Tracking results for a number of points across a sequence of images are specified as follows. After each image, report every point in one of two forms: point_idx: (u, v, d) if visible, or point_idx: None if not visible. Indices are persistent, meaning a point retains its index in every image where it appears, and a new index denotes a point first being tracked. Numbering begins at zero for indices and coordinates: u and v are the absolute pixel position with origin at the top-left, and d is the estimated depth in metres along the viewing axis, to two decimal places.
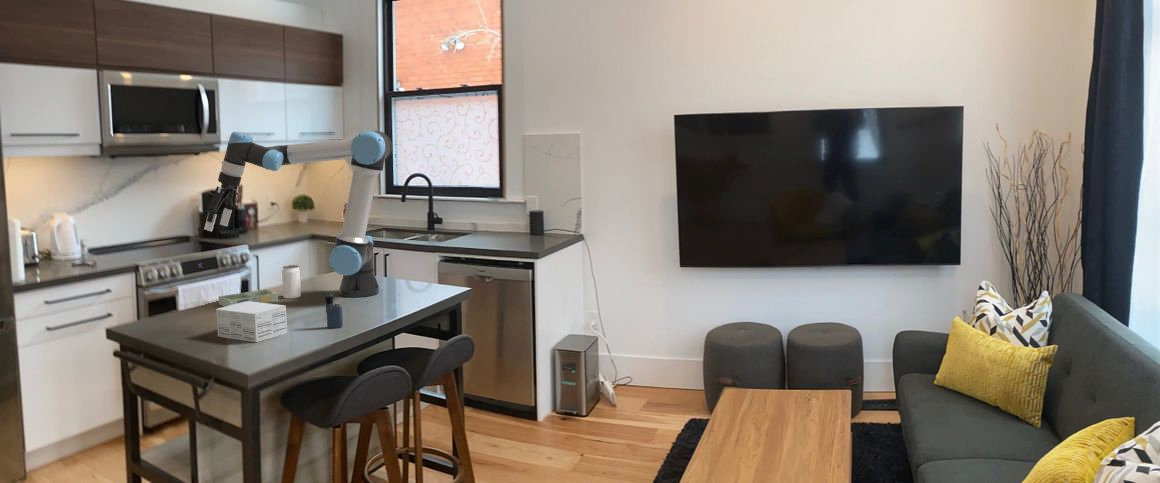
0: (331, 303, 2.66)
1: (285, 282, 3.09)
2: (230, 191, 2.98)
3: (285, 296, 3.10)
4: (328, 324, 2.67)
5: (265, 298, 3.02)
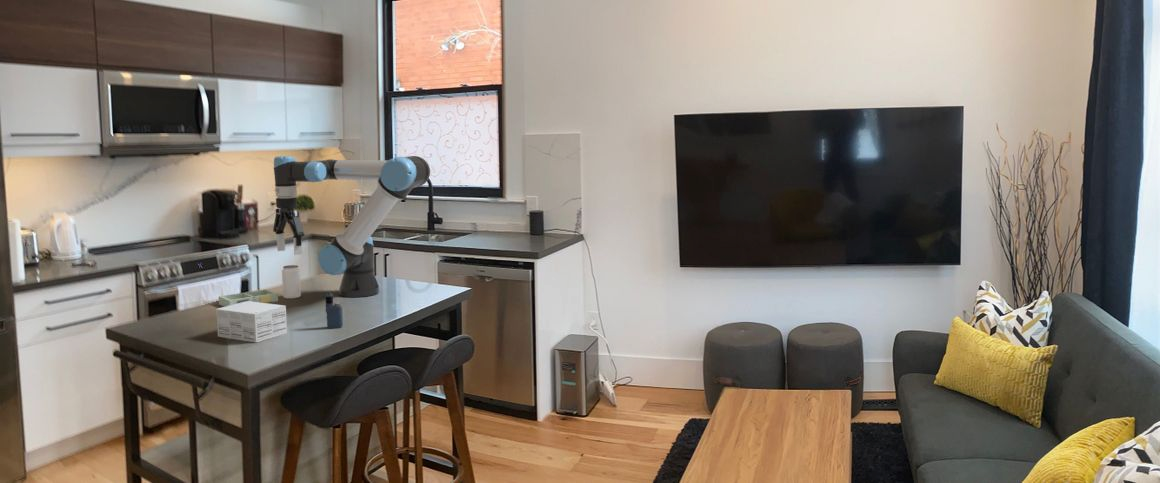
0: (331, 303, 2.66)
1: (285, 282, 3.09)
2: None
3: (285, 296, 3.10)
4: (328, 324, 2.67)
5: (265, 298, 3.02)
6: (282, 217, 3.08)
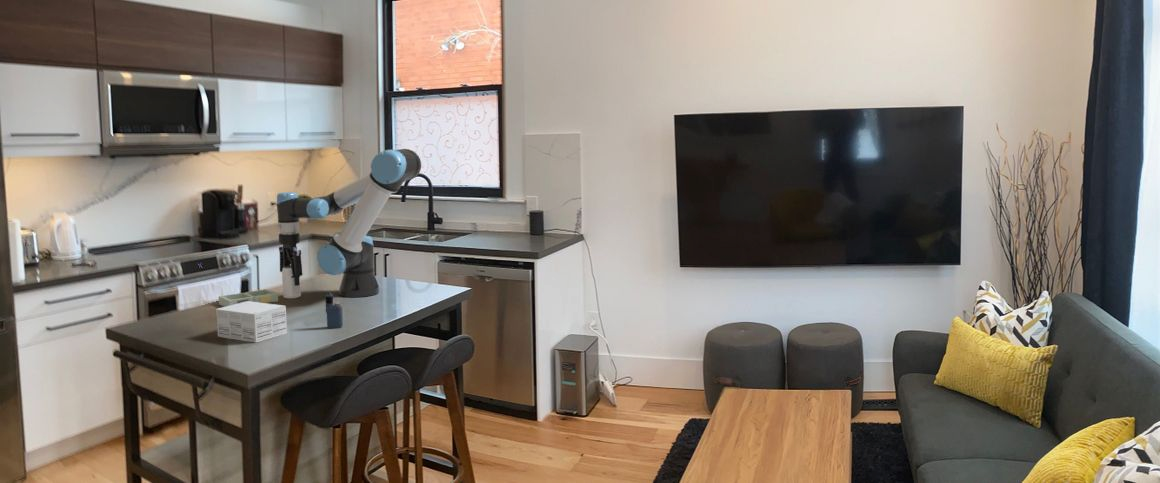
0: (331, 303, 2.66)
1: (285, 282, 3.09)
2: None
3: (285, 296, 3.10)
4: (328, 324, 2.67)
5: (265, 298, 3.02)
6: (285, 253, 3.10)
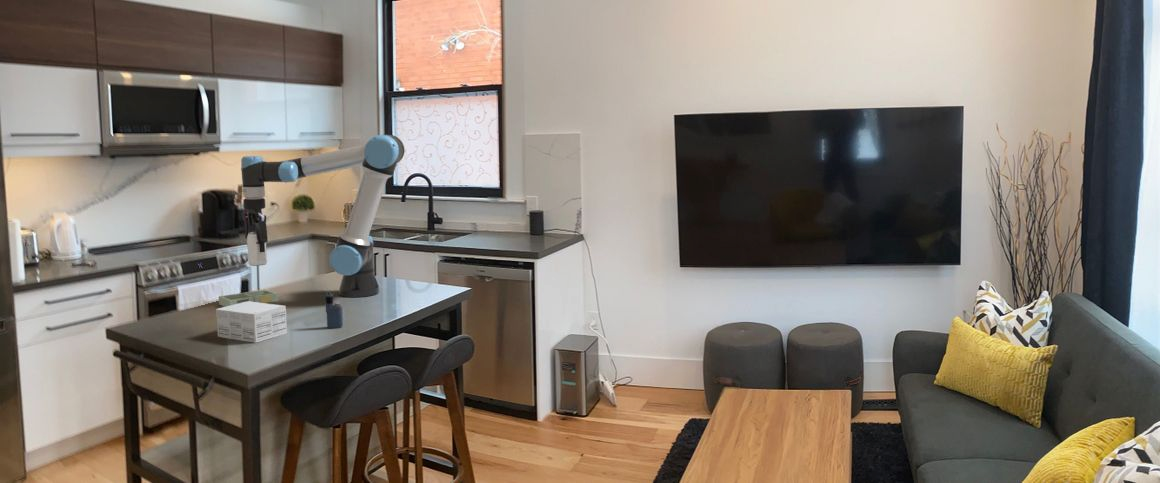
0: (331, 303, 2.66)
1: (250, 248, 3.00)
2: None
3: (250, 263, 3.01)
4: (328, 324, 2.67)
5: (265, 298, 3.02)
6: (250, 218, 3.01)
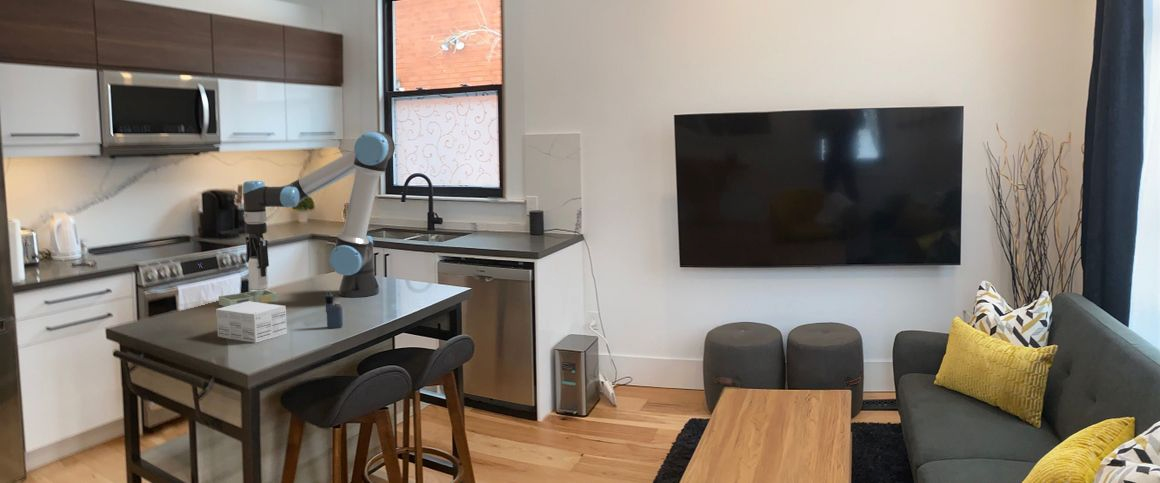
0: (331, 303, 2.66)
1: (251, 272, 3.01)
2: None
3: (251, 287, 3.02)
4: (328, 324, 2.67)
5: (265, 298, 3.02)
6: (252, 243, 3.02)
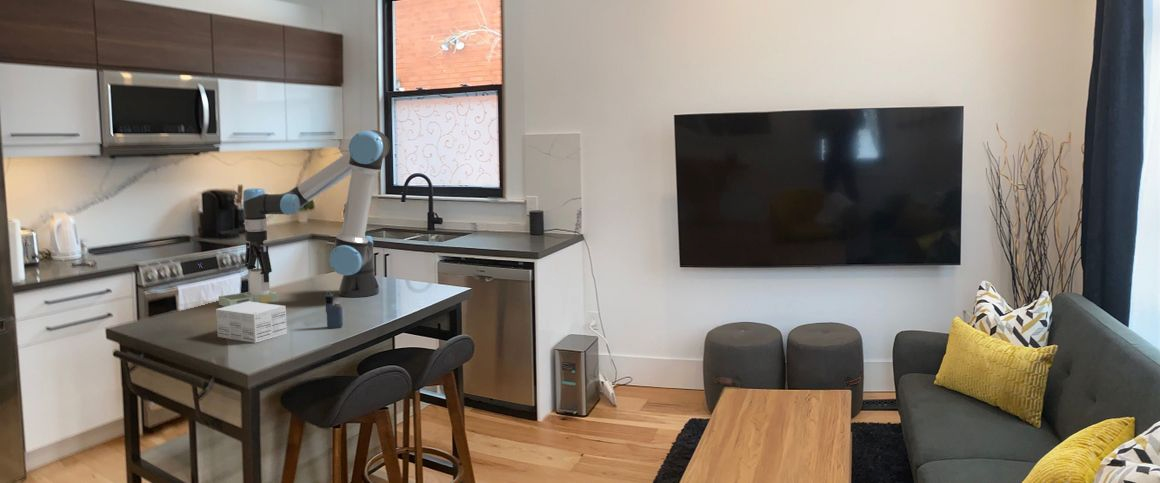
0: (331, 303, 2.66)
1: (253, 285, 3.02)
2: None
3: None
4: (328, 324, 2.67)
5: (265, 298, 3.02)
6: (252, 250, 3.03)
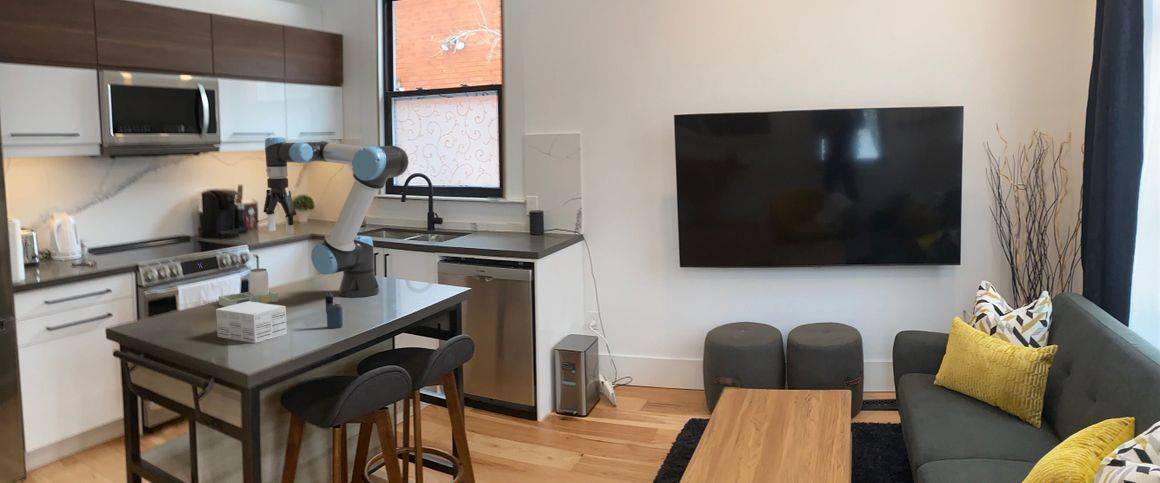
0: (331, 303, 2.66)
1: (253, 285, 3.02)
2: None
3: None
4: (328, 324, 2.67)
5: (265, 298, 3.02)
6: (273, 197, 3.14)
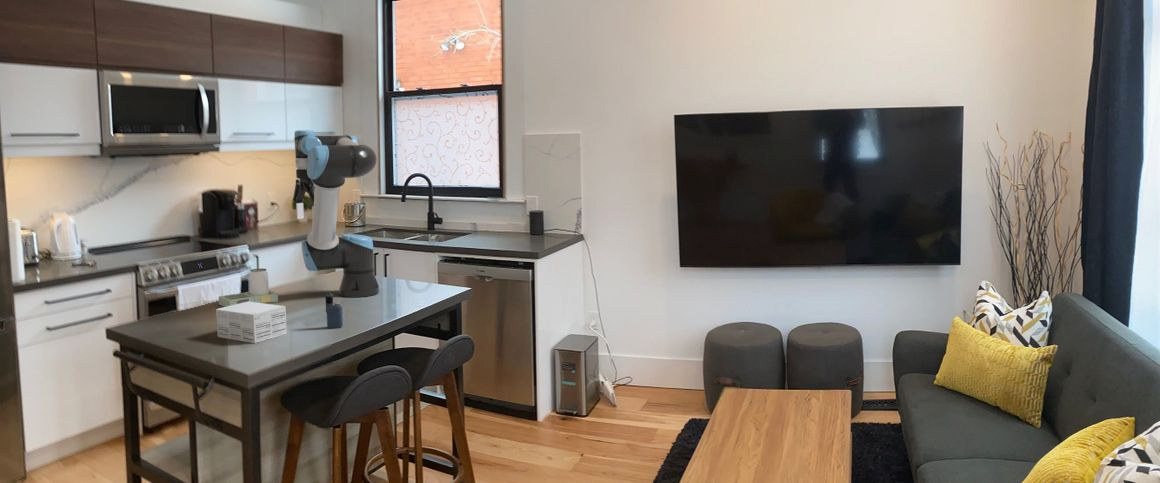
0: (331, 303, 2.66)
1: (252, 285, 3.02)
2: None
3: None
4: (328, 324, 2.67)
5: (265, 298, 3.02)
6: (301, 187, 3.31)
